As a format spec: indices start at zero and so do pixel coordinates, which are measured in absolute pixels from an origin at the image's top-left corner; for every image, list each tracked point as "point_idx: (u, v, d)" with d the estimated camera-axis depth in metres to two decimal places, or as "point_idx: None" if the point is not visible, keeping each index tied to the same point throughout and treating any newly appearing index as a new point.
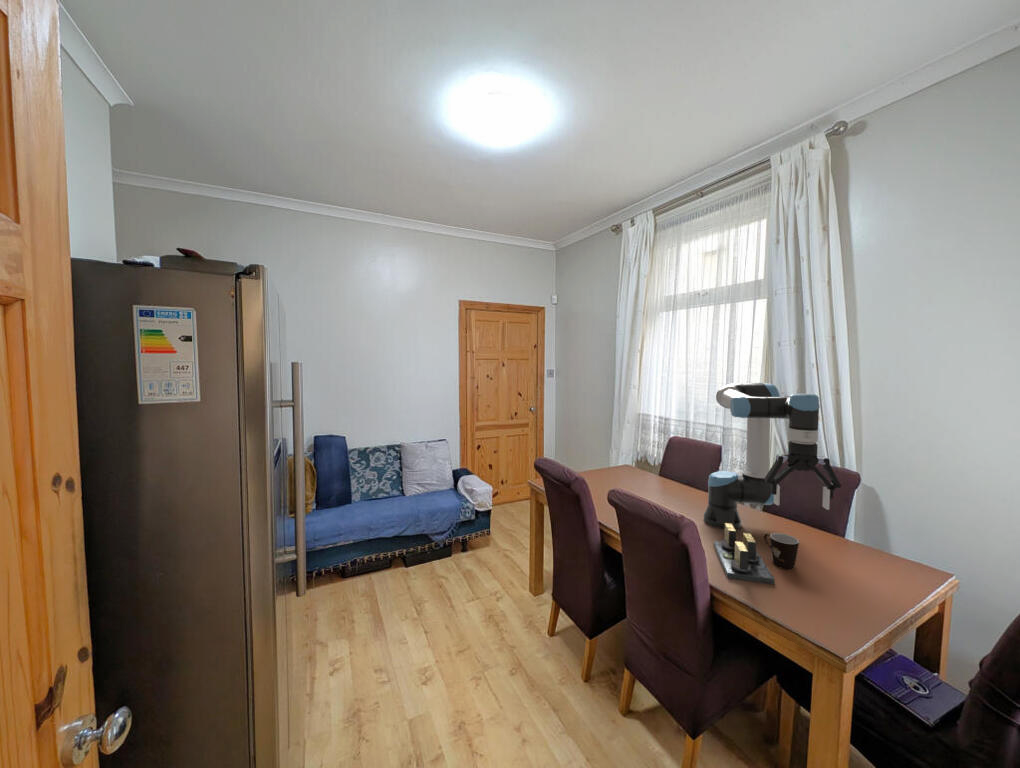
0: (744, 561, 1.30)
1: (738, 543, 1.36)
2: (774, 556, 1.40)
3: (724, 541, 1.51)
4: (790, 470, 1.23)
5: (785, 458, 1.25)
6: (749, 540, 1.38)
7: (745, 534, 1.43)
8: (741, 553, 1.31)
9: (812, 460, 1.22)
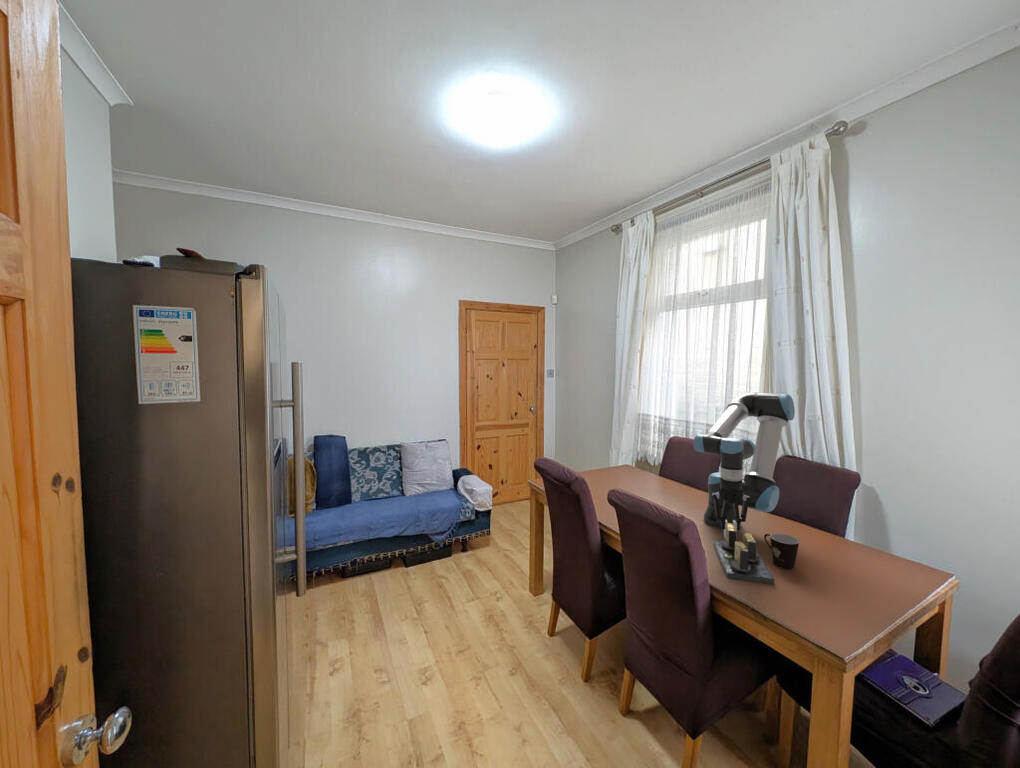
0: (744, 561, 1.30)
1: (738, 543, 1.36)
2: (774, 556, 1.40)
3: (724, 541, 1.51)
4: (726, 504, 1.48)
5: (718, 494, 1.49)
6: (749, 540, 1.38)
7: (745, 534, 1.43)
8: (741, 553, 1.31)
9: (739, 493, 1.46)
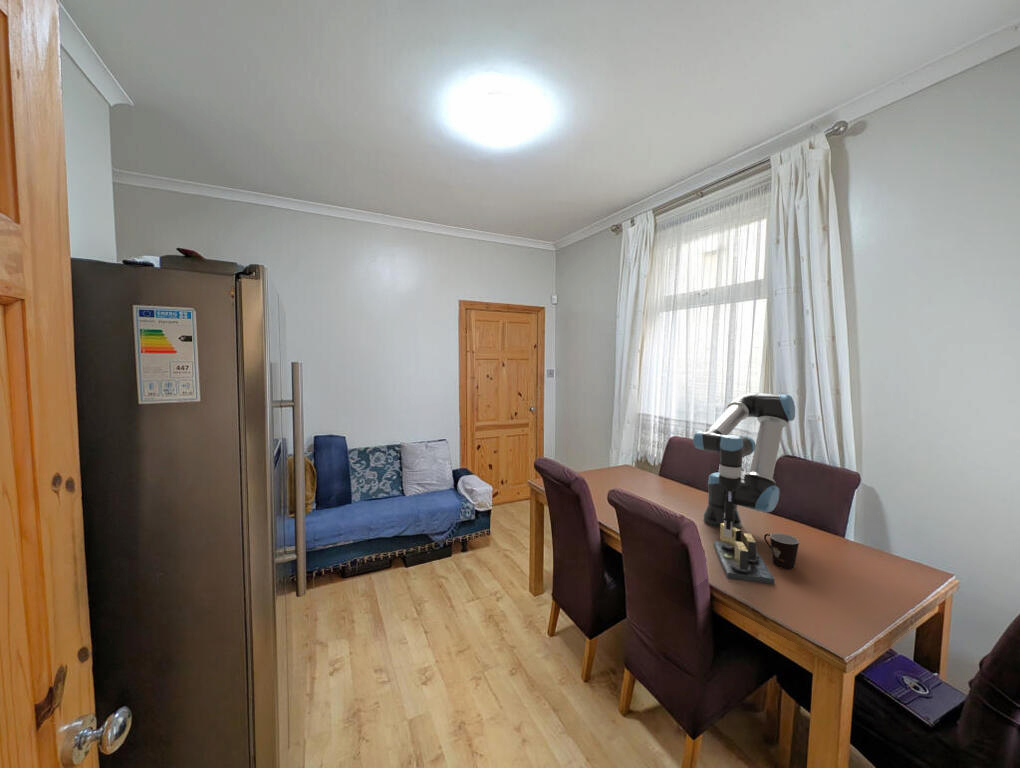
0: (744, 561, 1.30)
1: (738, 543, 1.36)
2: (774, 556, 1.40)
3: (724, 542, 1.50)
4: (733, 503, 1.46)
5: (731, 495, 1.44)
6: (749, 540, 1.38)
7: (745, 534, 1.43)
8: (741, 553, 1.31)
9: None
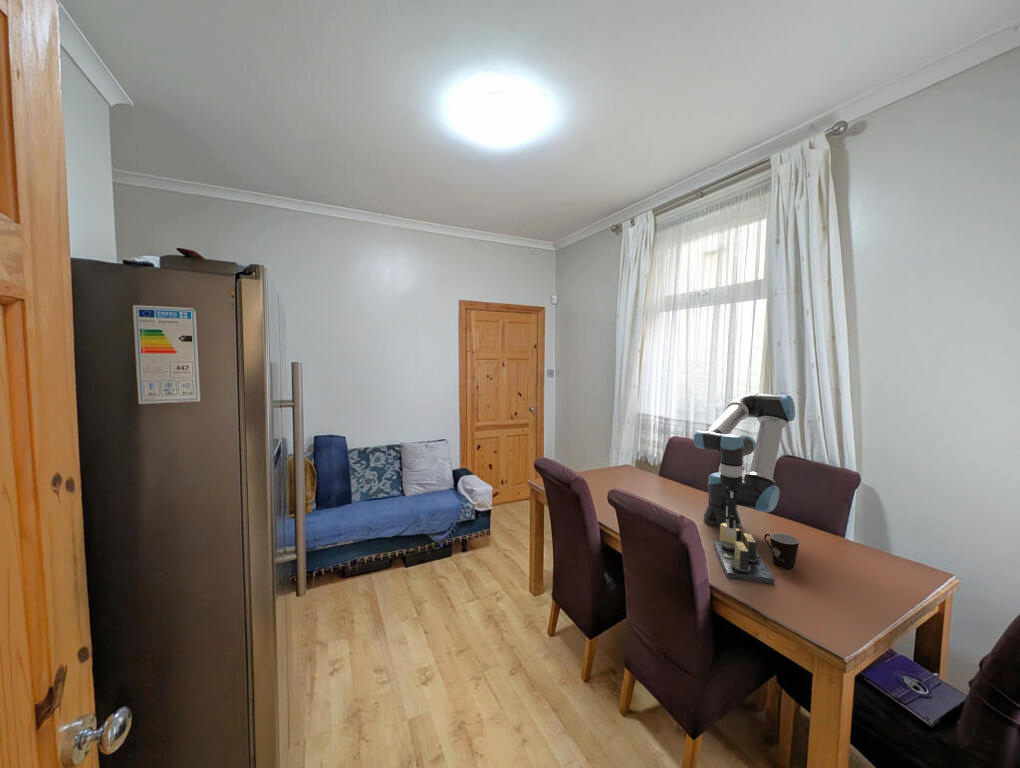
0: (744, 561, 1.30)
1: (738, 543, 1.36)
2: (774, 556, 1.40)
3: (724, 542, 1.50)
4: (735, 502, 1.45)
5: (732, 493, 1.44)
6: (749, 540, 1.38)
7: (745, 534, 1.43)
8: (741, 553, 1.31)
9: None
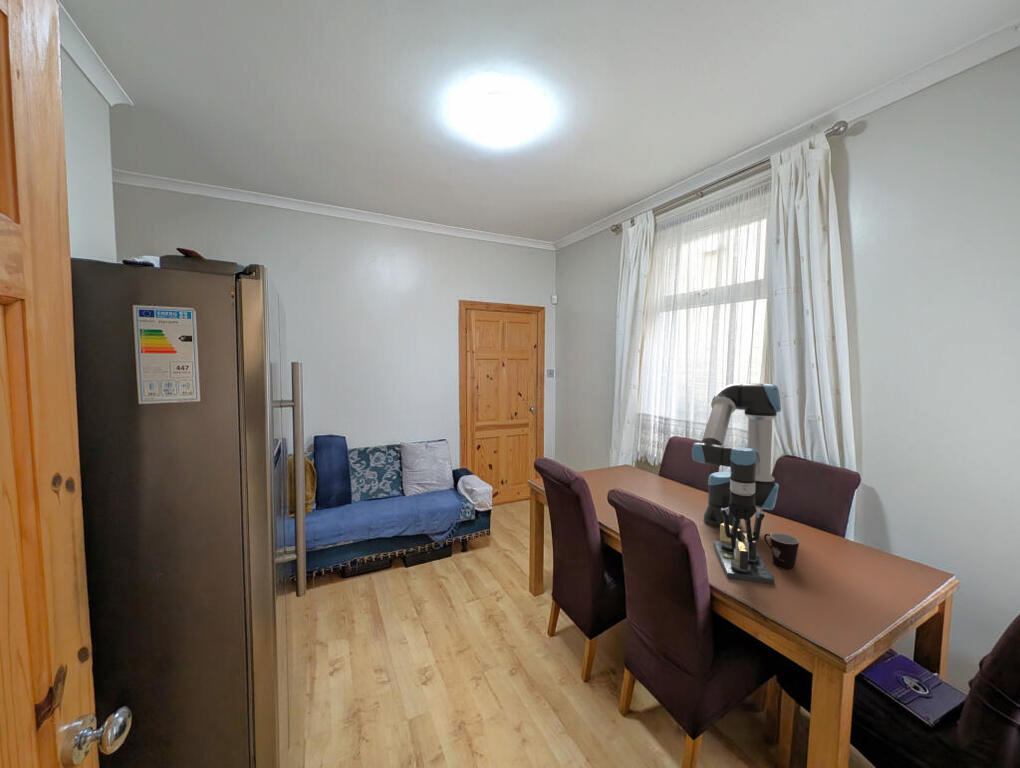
0: (744, 561, 1.30)
1: None
2: (774, 556, 1.40)
3: (724, 543, 1.50)
4: (737, 521, 1.32)
5: (727, 510, 1.34)
6: None
7: (745, 534, 1.43)
8: (741, 553, 1.31)
9: (751, 509, 1.31)
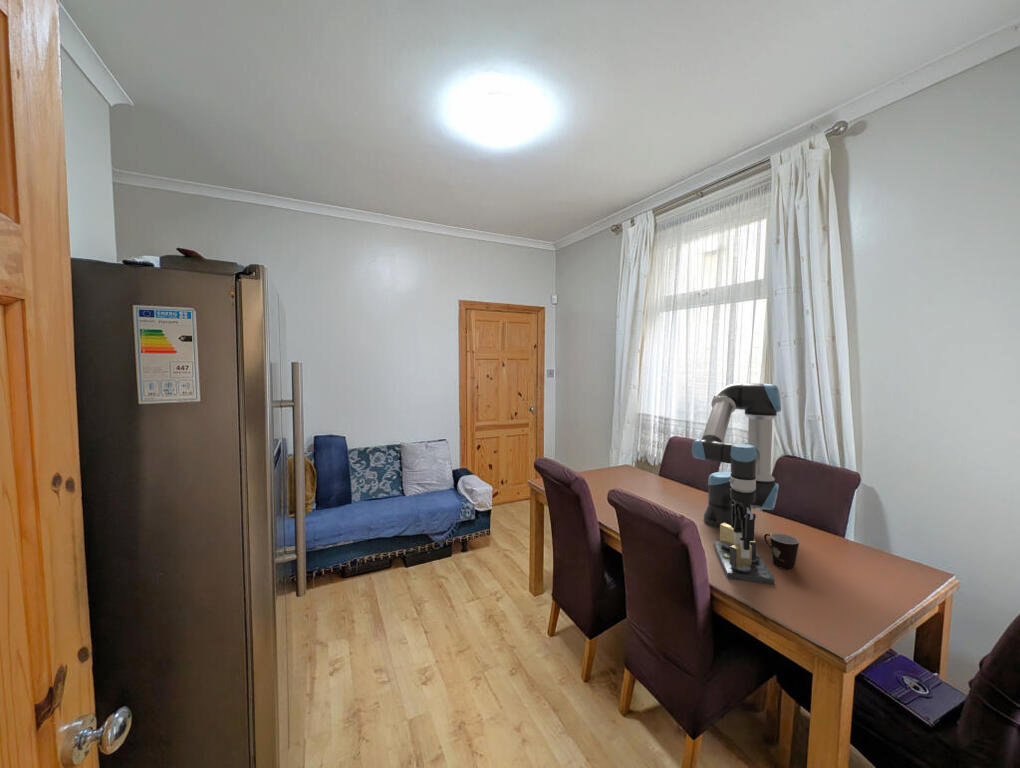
0: (733, 558, 1.33)
1: None
2: (774, 556, 1.40)
3: (724, 543, 1.50)
4: (735, 514, 1.35)
5: (735, 502, 1.38)
6: None
7: None
8: (730, 549, 1.34)
9: (742, 506, 1.31)
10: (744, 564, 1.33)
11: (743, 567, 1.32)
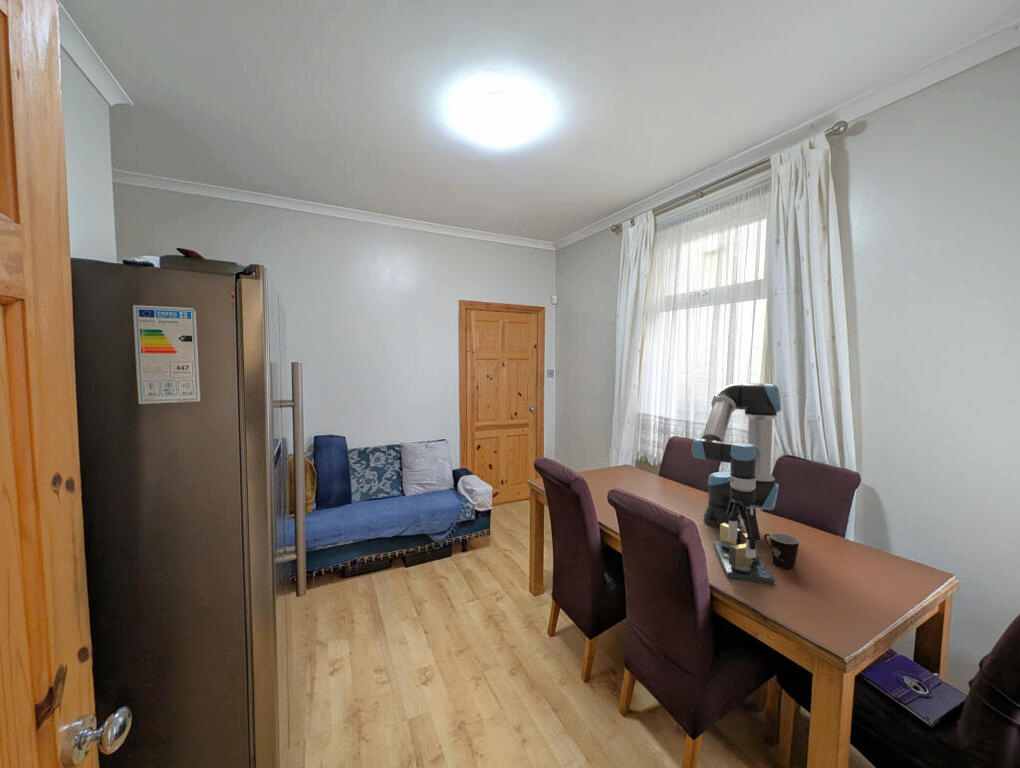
0: (732, 557, 1.33)
1: (744, 544, 1.35)
2: (774, 556, 1.40)
3: (724, 543, 1.50)
4: None
5: None
6: None
7: (745, 534, 1.43)
8: (730, 548, 1.34)
9: (741, 506, 1.31)
10: (744, 564, 1.33)
11: (742, 567, 1.32)
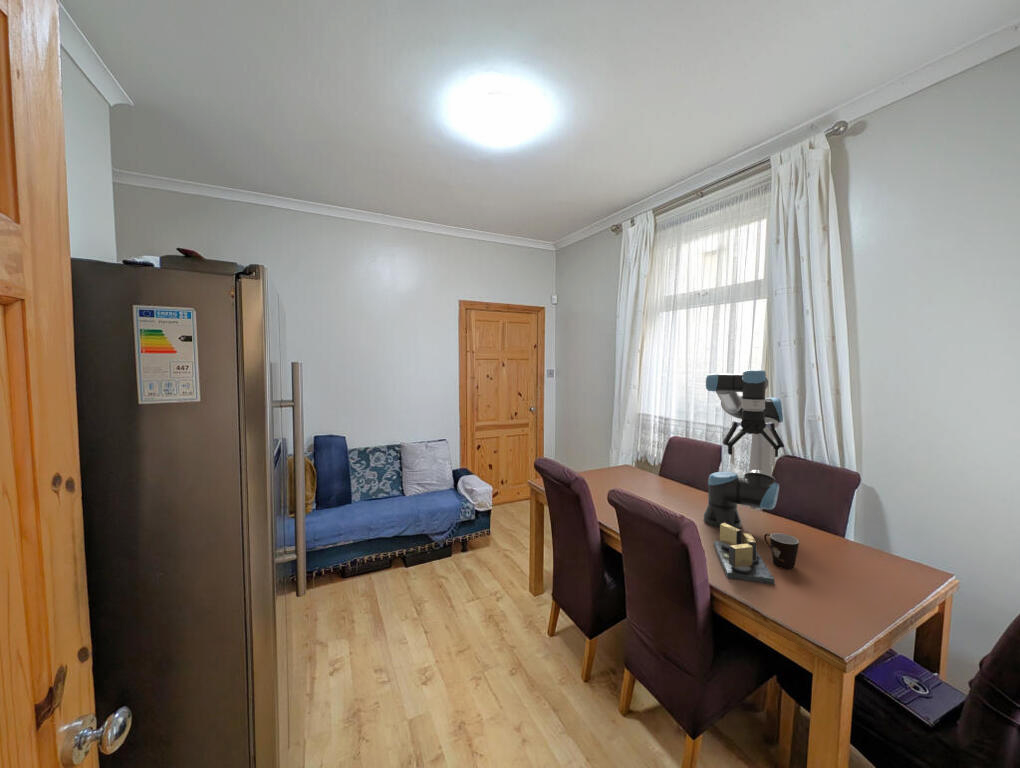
0: (731, 557, 1.33)
1: (744, 544, 1.35)
2: (774, 556, 1.40)
3: (724, 543, 1.50)
4: (743, 433, 1.48)
5: (739, 424, 1.49)
6: (749, 540, 1.38)
7: (745, 534, 1.43)
8: (730, 548, 1.34)
9: (760, 425, 1.46)
10: (744, 564, 1.33)
11: (742, 567, 1.32)
